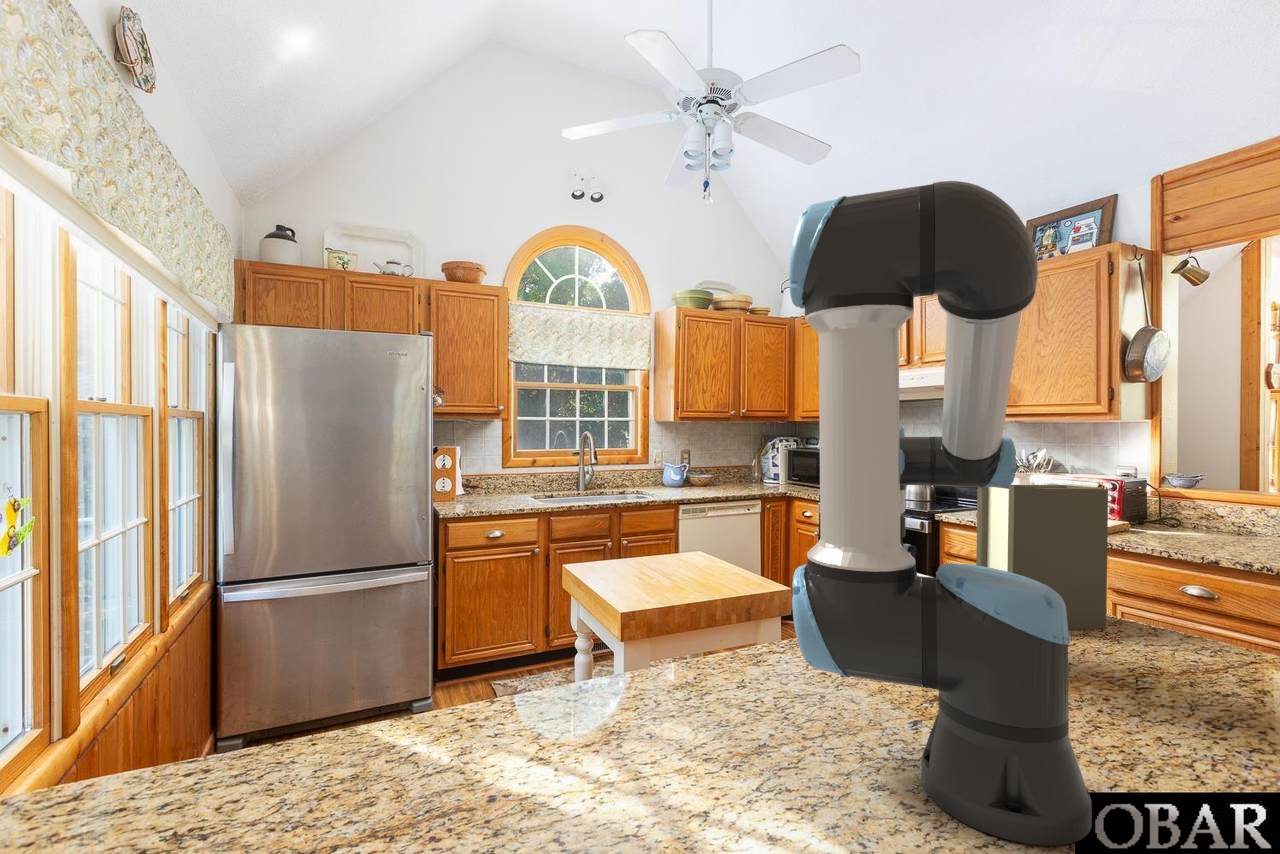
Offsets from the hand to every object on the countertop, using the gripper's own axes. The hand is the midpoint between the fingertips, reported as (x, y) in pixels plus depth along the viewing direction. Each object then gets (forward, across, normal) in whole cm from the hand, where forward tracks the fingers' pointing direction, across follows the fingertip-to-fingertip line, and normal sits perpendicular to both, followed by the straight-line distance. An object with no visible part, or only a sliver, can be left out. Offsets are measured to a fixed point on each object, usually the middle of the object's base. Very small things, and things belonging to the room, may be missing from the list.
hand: (882, 645), depth 104 cm
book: (+1, +40, -1) cm, 40 cm away
